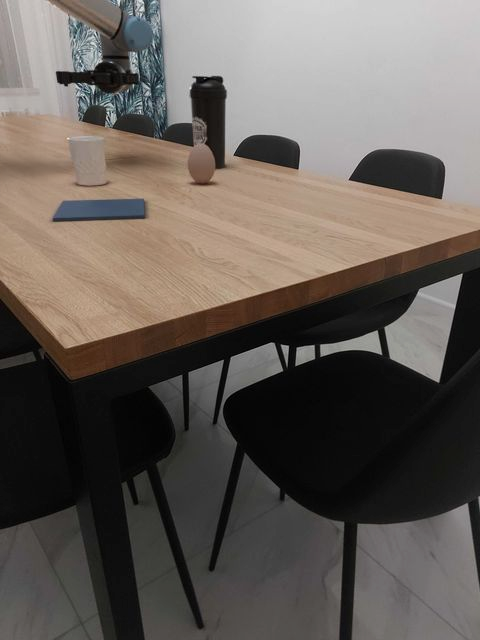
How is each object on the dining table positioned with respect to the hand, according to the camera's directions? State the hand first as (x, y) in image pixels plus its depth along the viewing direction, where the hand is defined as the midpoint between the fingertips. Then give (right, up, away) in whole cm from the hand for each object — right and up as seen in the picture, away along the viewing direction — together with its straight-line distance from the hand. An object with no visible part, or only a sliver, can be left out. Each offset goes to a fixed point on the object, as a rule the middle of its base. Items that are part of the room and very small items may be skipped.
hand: (89, 78), depth 118 cm
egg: (+26, -23, +5) cm, 35 cm away
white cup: (0, -24, +2) cm, 24 cm away
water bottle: (+26, -11, +27) cm, 39 cm away
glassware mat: (+10, -37, -21) cm, 44 cm away
